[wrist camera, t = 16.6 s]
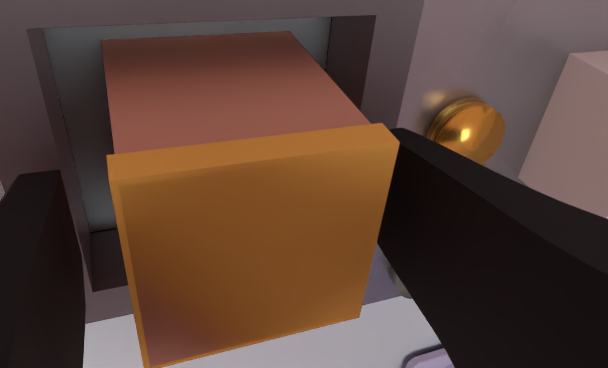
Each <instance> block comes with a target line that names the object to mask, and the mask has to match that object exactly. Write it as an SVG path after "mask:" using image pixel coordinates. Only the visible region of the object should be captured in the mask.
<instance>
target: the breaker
mask: <svg viewBox="0 0 608 368" xmlns="http://www.w3.org/2000/svg"><path fill="white" fill-rule="evenodd" d="M518 178H519V179H521V180H522V181H523V182H524V183H525V184H526V185H527V186H528V187H530V188H532V189H534V190H536V191H538V192H541V193H543V194H545V195H547V196H550V197H552V198H554V199H557V200H559V201H562V202H564V203H567V204H569V205H572V206H574V207H577V208H580V209H582V210H585V211H588V212H591V213H593V214H596V215H599V216H601V217H604V218H607V219H608V50H607V51H594V52H581V53H570V54H569V56H568V58H567V61H566V63H565V66H564V68H563V70H562V73H561V75H560V78H559V80H558V82H557V85H556V87H555V89H554V92H553V94H552V97H551V99H550V101H549V104H548V106H547V109H546V111H545V113H544V116H543V118H542V121H541V123H540V125H539V128H538V130H537V133H536V135H535V137H534V140H533V142H532V145H531V147H530V149H529V152H528V154H527V156H526V159H525V161H524V164H523V166H522V168H521V171H520V173H519V176H518Z"/></svg>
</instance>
